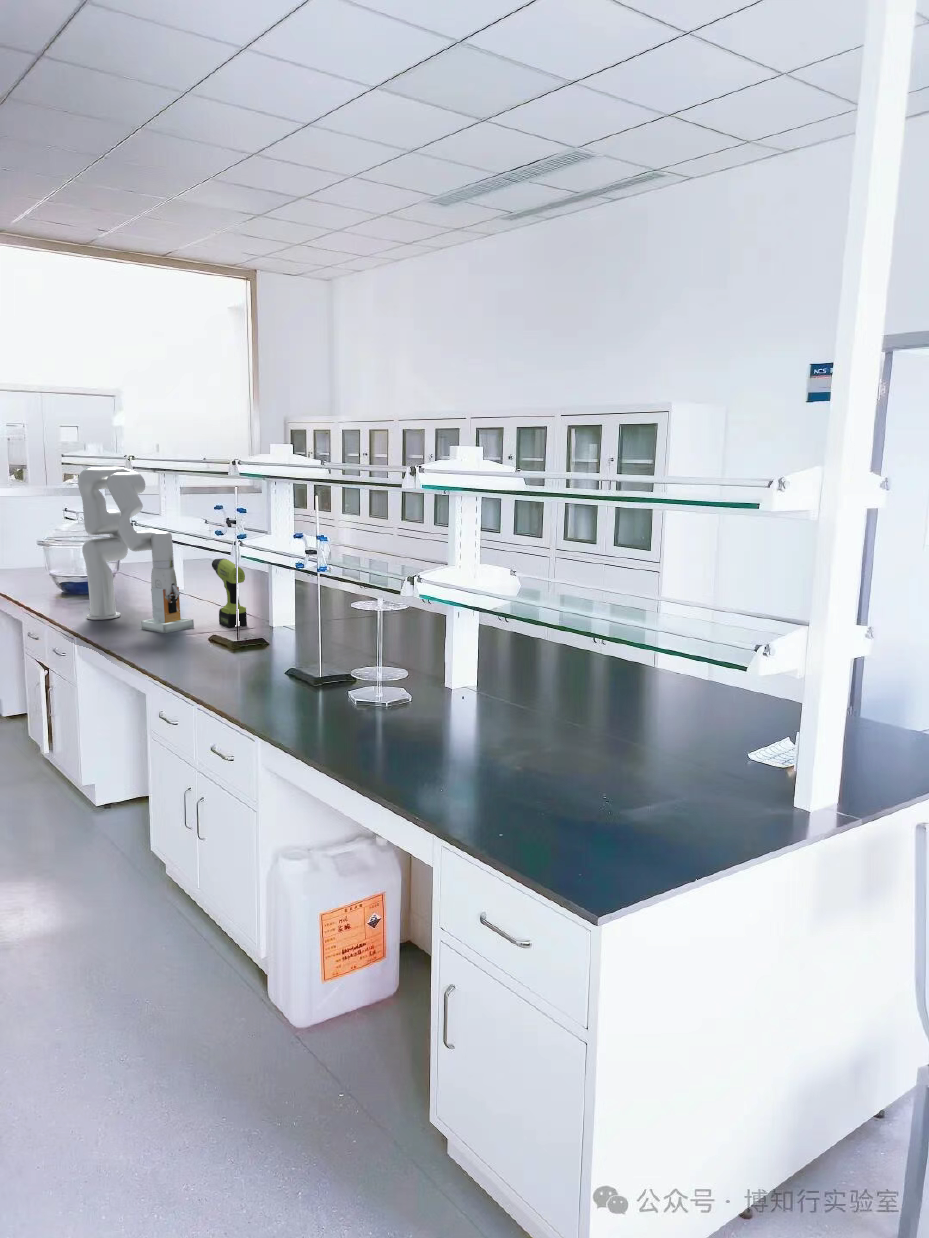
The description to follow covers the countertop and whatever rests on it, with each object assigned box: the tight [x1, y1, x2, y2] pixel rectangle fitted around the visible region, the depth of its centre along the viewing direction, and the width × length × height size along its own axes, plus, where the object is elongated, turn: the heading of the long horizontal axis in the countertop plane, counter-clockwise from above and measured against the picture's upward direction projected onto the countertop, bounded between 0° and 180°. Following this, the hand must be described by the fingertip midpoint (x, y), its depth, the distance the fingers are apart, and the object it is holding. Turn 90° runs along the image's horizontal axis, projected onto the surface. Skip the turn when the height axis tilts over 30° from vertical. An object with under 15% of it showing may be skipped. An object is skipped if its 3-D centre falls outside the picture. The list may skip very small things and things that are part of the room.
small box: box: [150, 586, 182, 623], centre depth 343 cm, size 8×6×13 cm
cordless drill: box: [211, 558, 248, 629], centre depth 351 cm, size 23×7×25 cm, turn 37°
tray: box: [140, 617, 195, 634], centre depth 345 cm, size 14×13×3 cm
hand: (166, 611), depth 344 cm, fingers closed on small box, 6 cm apart
